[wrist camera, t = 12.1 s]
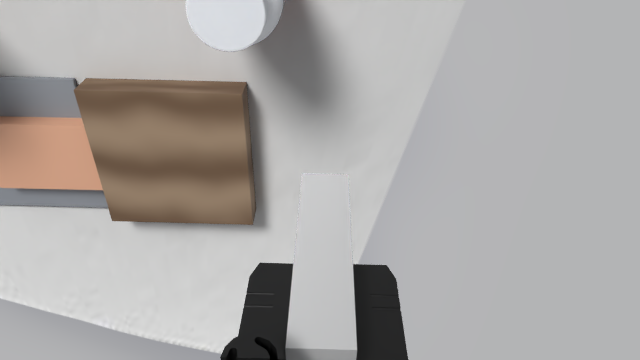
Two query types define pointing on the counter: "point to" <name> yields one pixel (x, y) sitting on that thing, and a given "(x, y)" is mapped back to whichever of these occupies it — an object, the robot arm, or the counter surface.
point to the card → (46, 154)
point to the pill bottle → (233, 21)
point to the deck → (171, 149)
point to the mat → (43, 102)
